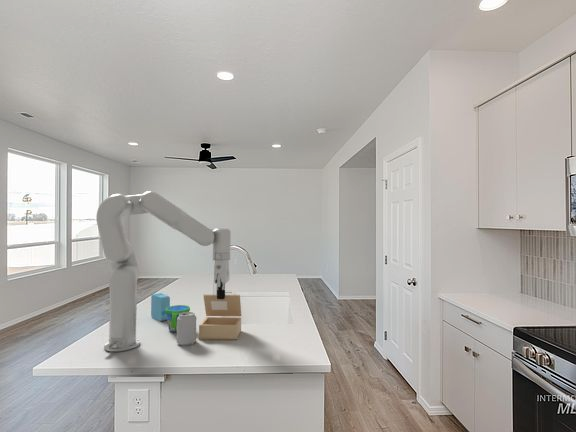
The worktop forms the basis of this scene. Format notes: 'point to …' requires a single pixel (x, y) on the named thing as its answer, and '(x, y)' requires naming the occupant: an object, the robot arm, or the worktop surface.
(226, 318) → the box
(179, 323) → the can
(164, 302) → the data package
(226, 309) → the lid
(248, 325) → the worktop surface
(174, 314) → the snack cup
